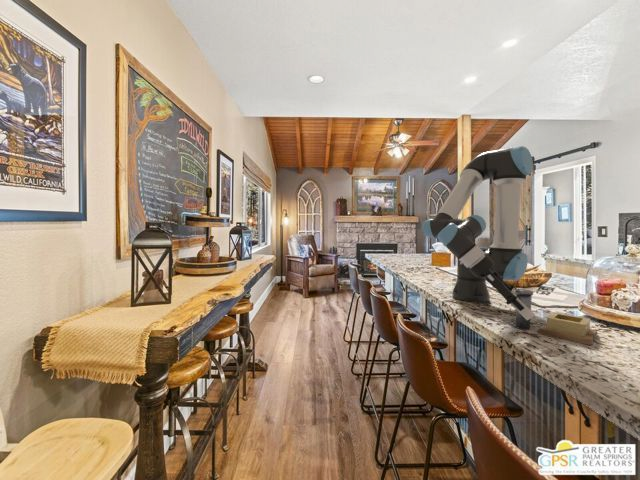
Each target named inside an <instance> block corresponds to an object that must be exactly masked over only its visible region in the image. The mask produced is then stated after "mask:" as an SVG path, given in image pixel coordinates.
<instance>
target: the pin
mask: <svg viewBox="0 0 640 480" xmlns="http://www.w3.org/2000/svg"><path fill="white" fill-rule="evenodd" d="M514 291H515V293H516V294H517V298H518V299H519V300H520V301H521V302H522V303H523V304H524V305H525V306H527V307H528V308H529V309H530V310H531V311H532V296H534V291H533V290H531V289H525V288H516V289H515V288H514ZM531 319H532V318H530V319H529V320H526V319H525V318H524V317H523V316H522V315H521V314H520V313H519V312H518V311H517V310H516V309H515V325H514V326H515V328H516V329H519V330H531Z"/></svg>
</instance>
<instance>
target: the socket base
mask: <svg viewBox="0 0 640 480" xmlns="http://www.w3.org/2000/svg"><path fill="white" fill-rule="evenodd" d="M546 324H547V322H545V323H543V324H542V326H541V327H539V328H538V334H539V335H542V336H548V337H551V338H557V339H561V340H566V341H570V342H573V343H574V342H575V343H579V344H584V345H586V346H587V345H588V346H592V344H593V343H594V341H595V339H596V337H597V335H598V330H597V329H592V328H590V330H589V332H588V333H587V335H586V336H585V337H582V336H577V335H572V334H567V333H563V332H558V331H553V330H548V329H546Z"/></svg>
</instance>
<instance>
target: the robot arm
mask: <svg viewBox="0 0 640 480" xmlns="http://www.w3.org/2000/svg"><path fill="white" fill-rule="evenodd" d="M533 170H534V161H533V156H532V154H531V152H530V150H529V149H528V148H527V147H526V146H522V145H520V146H519V145H518V146H511V147H506V148H501V149H496V150H490V151H486V152H485V151H484V152H482V153H481V154H479V155H477V156H476V157H474V158H473V159H472V160H471V161H469V162H468V163H467V164H466V165H465V167H463V169H462V170H461V172H460V174H459V179H458V181H457V183H456V184H455V185H454V187H453V189H452V190H451V192H450V193H449V195H448V197H447V198H446V200H445V201H444V203H443V204H442V205H441V207H440V208H439V210H438V211H437V213H436V215H435V216H434V218H430V219H426V220H425V221H424V222H423V224H422V225H423V226H422V232H423V234H424V236H425V237H426V238H431V239H438V240H439V241H440V243H441V244H442V245H443V246H444V247H445V248H447V250H448V251H449V252H450V253H452V255H454V256H455V257H456V258H457V265H456V266H457V269H456V271H457V273H456V274H457V275H456V282H455V285H454V286H453V290H452V295H451V296H452V298H453V299H456V300H460V301H464V302H471V303H485V302H486V303H487V302H490V297H491V296H490V293H489V289H488V286H487V282H488V284H490V285H491V286H492V287H493V288H494V289H495V290H496V291H497V292H498V293H499V294H500V295H501V296H502V297H503V299H505V301H506V302H505V303H506V304H507V305H508V306H509V305H511V306H512V307H513V308H514V309H515V311H516V310H517V311H518V312H519V313H520V314H521V315H522V316H523V317H524V318H525V319H526V320H529V319H530V318H531V319H532V318H533V317H535V316H536V314H535V313H534V312H533V311H532V309H531V310H530V309H529V308H528V307H527V306H525V305H524V304H523V303H522V302H521V301H520V300H519V299H518V298H517V294H516V293H515V287H514V286H513V285H510V284H508V283H507V282H508V281H512V282H516V281H520V280H521V279H522V278H523V276H524V275H525V274H526V271H527V268H528V263H529V261H528V260H529V259H528V255H527V254H526V253H524V252H523V247H522V246H520V245H519V228H520V227H519V226H520V213H521V212H520V211H521V210H520V209H521V196H522V195H521V193H522V184H524V183H525V182H526V181H527V176H529V175H531V174H532V173H533ZM490 179H491V180H492V183H494V185H495V186H496V192H495V194H496V195H495V213H494V214H495V215H494V227H493V228H494V230H493V231H494V233H493V243H492V244H490V246H489V249H488V247H487V246H478V244H476V242H474V241H475V240H476V239H477V238H478V237H480V236H481V235H482V234H483V233H484V232H485V231H486V228H487V223H486V221H485V219H484V218H483V217H482V216H480V215H478V214H473V215H469V216H467V217H466V218H458V217H459V215H460V214H461V213H462V211H463V209H464V207H465V206H466V205H467V204H468V201H469V199H471V198H470V197H471V196H472V195H473V193H474V192H475V190H476V188H477V187H478V186H481V185H482V184H483V182H484V181H486V180H490ZM506 281H507V282H506Z"/></svg>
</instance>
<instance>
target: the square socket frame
mask: <svg viewBox="0 0 640 480" xmlns="http://www.w3.org/2000/svg"><path fill="white" fill-rule="evenodd" d="M546 323H547V324H546V329H548V330H553V331H558V332H563V333H567V334H572V335H577V336H582V337H585V336H586V335H587V333H588V332H589V330H590V329H591V318H590V317H589V318H588V317H582V316H578V315H571V314H565V313H559V312H553V311H552V313H551V314H549V315H548V316H547V317H546Z"/></svg>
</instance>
